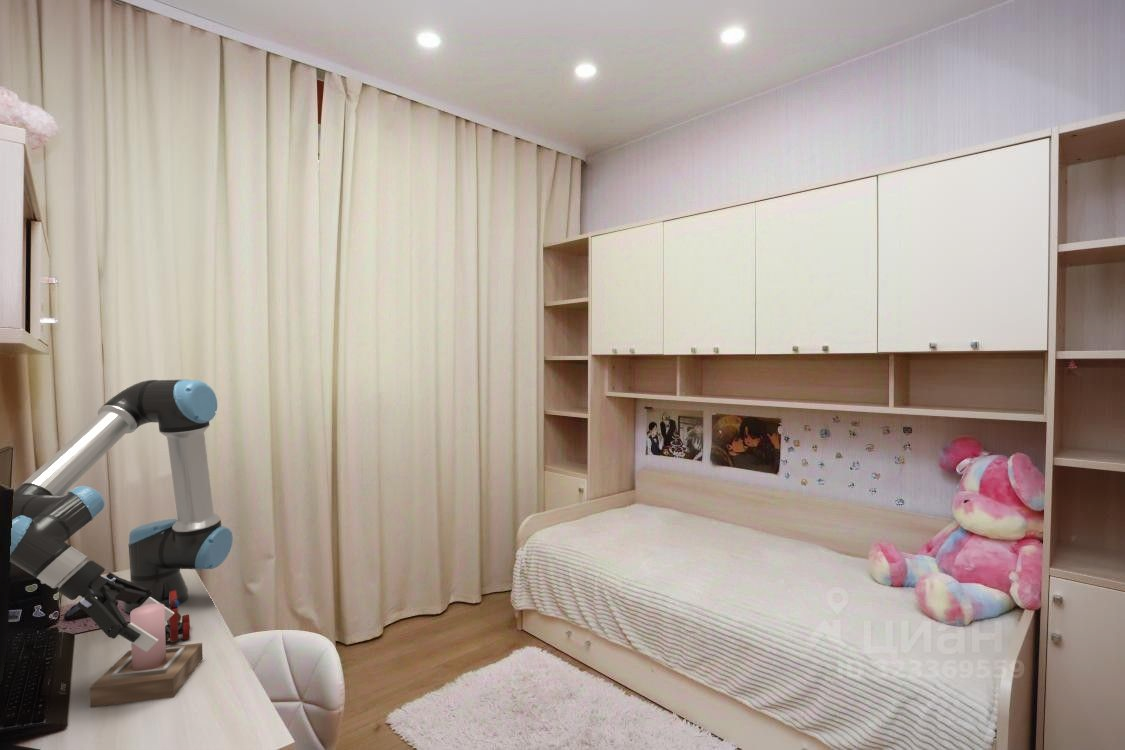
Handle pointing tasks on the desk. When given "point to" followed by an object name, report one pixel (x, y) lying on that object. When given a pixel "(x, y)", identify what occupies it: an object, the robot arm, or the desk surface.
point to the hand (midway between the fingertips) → (161, 631)
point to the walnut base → (146, 677)
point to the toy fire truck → (176, 621)
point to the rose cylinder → (154, 624)
